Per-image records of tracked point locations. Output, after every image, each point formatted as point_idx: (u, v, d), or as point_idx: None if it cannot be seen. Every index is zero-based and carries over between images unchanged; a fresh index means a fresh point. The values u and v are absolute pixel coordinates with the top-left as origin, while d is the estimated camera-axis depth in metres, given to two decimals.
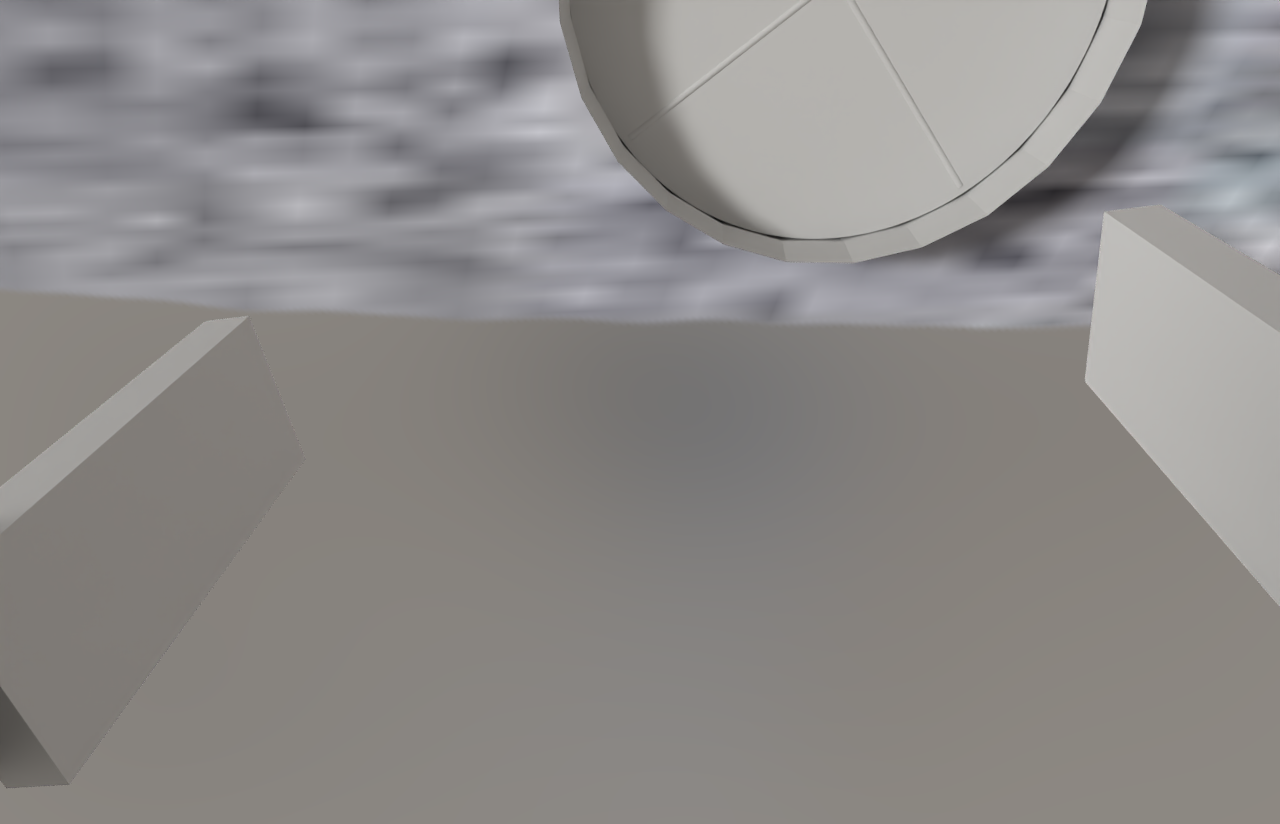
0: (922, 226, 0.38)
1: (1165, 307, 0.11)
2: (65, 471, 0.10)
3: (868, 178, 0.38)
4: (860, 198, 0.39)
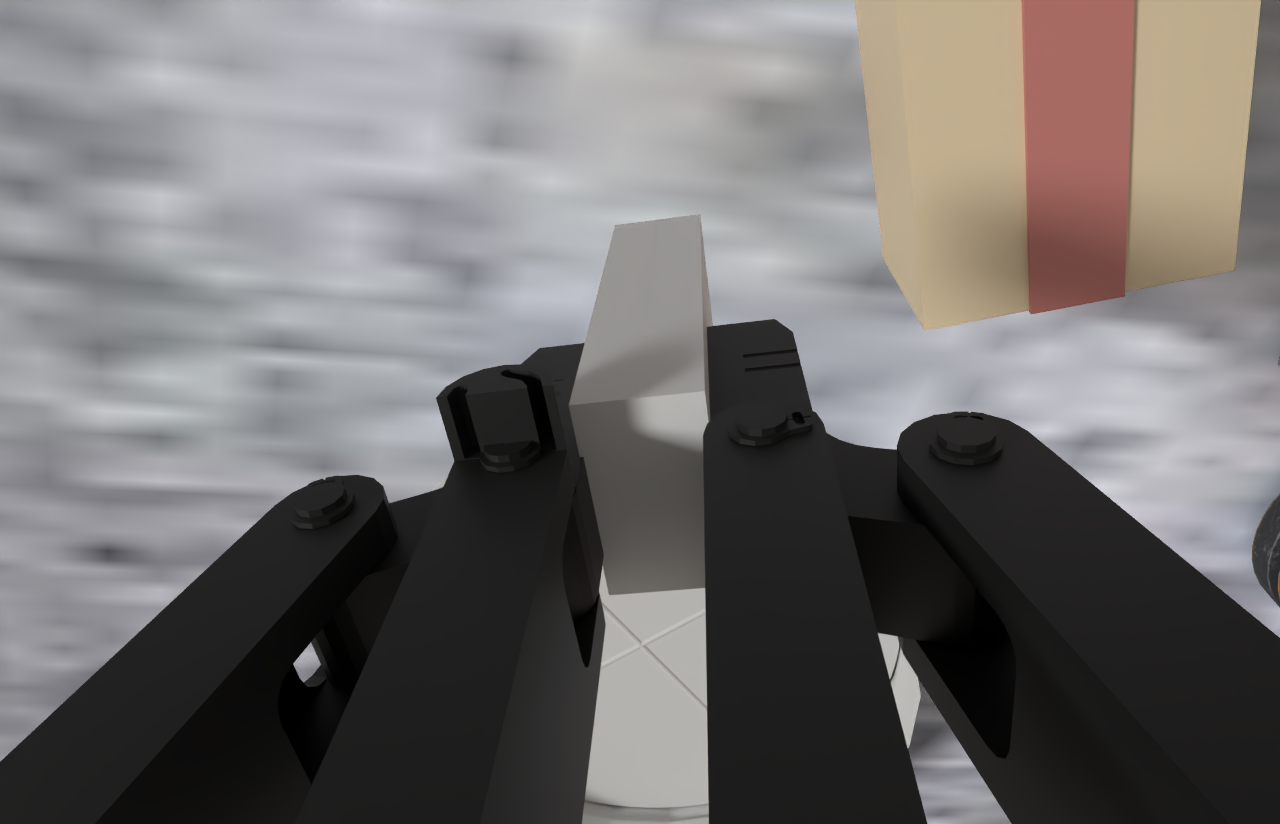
0: None
1: None
2: (637, 323, 0.11)
3: (689, 771, 0.41)
4: (683, 783, 0.41)
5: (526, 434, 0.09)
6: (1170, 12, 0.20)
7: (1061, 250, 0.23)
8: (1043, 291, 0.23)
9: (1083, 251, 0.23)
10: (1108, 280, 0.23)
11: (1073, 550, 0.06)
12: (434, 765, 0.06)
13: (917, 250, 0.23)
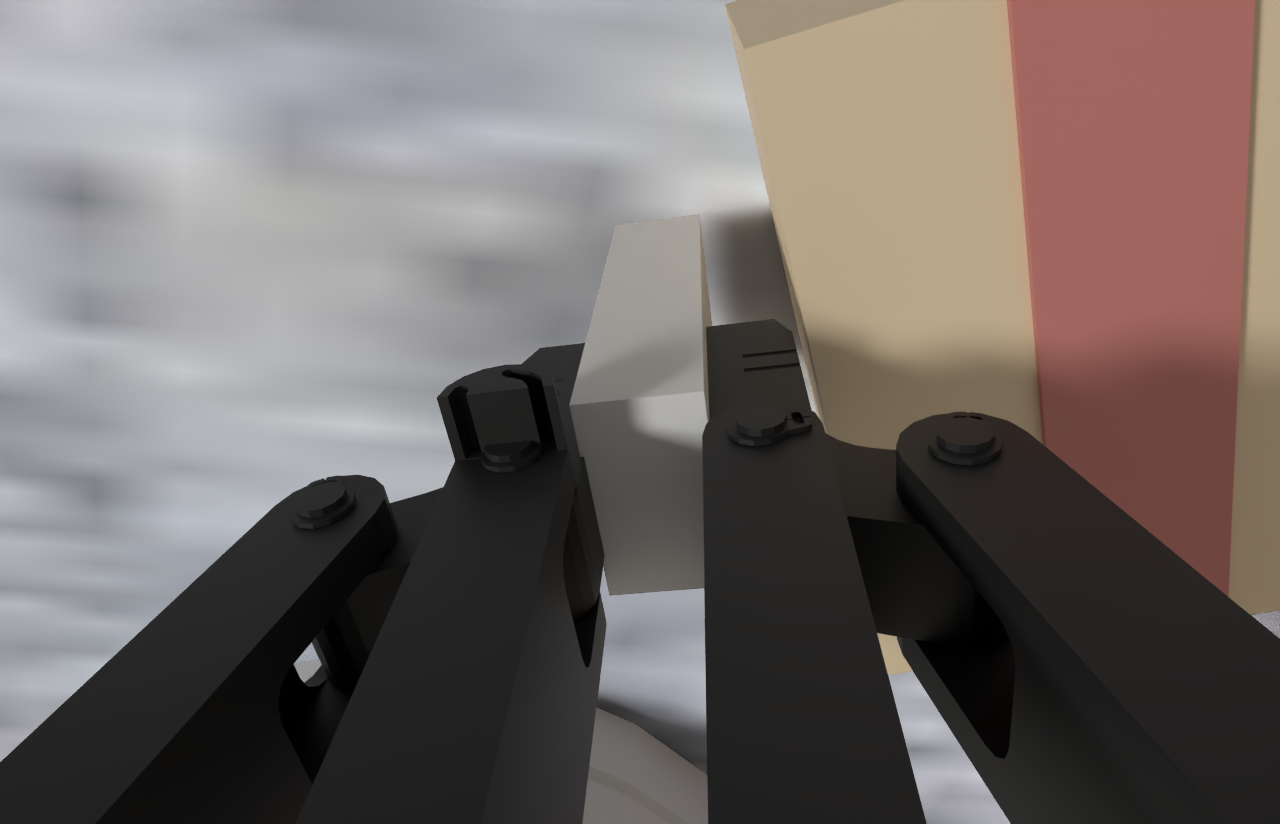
0: None
1: None
2: (638, 323, 0.11)
3: None
4: None
5: (527, 434, 0.09)
6: None
7: None
8: None
9: None
10: None
11: (1072, 550, 0.06)
12: (434, 765, 0.06)
13: None
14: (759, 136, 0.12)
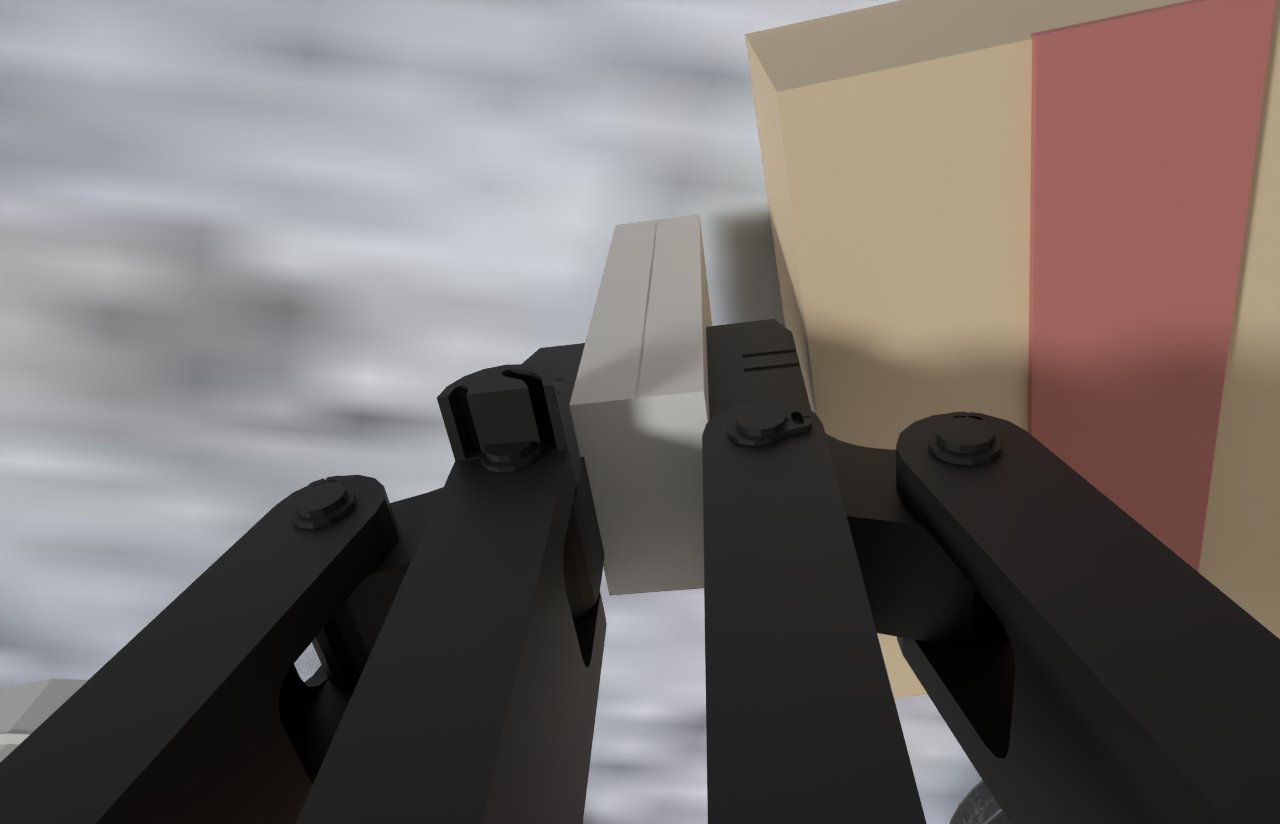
0: None
1: None
2: (638, 323, 0.11)
3: None
4: None
5: (527, 434, 0.09)
6: None
7: None
8: None
9: None
10: None
11: (1072, 550, 0.06)
12: (434, 765, 0.06)
13: None
14: (776, 171, 0.12)
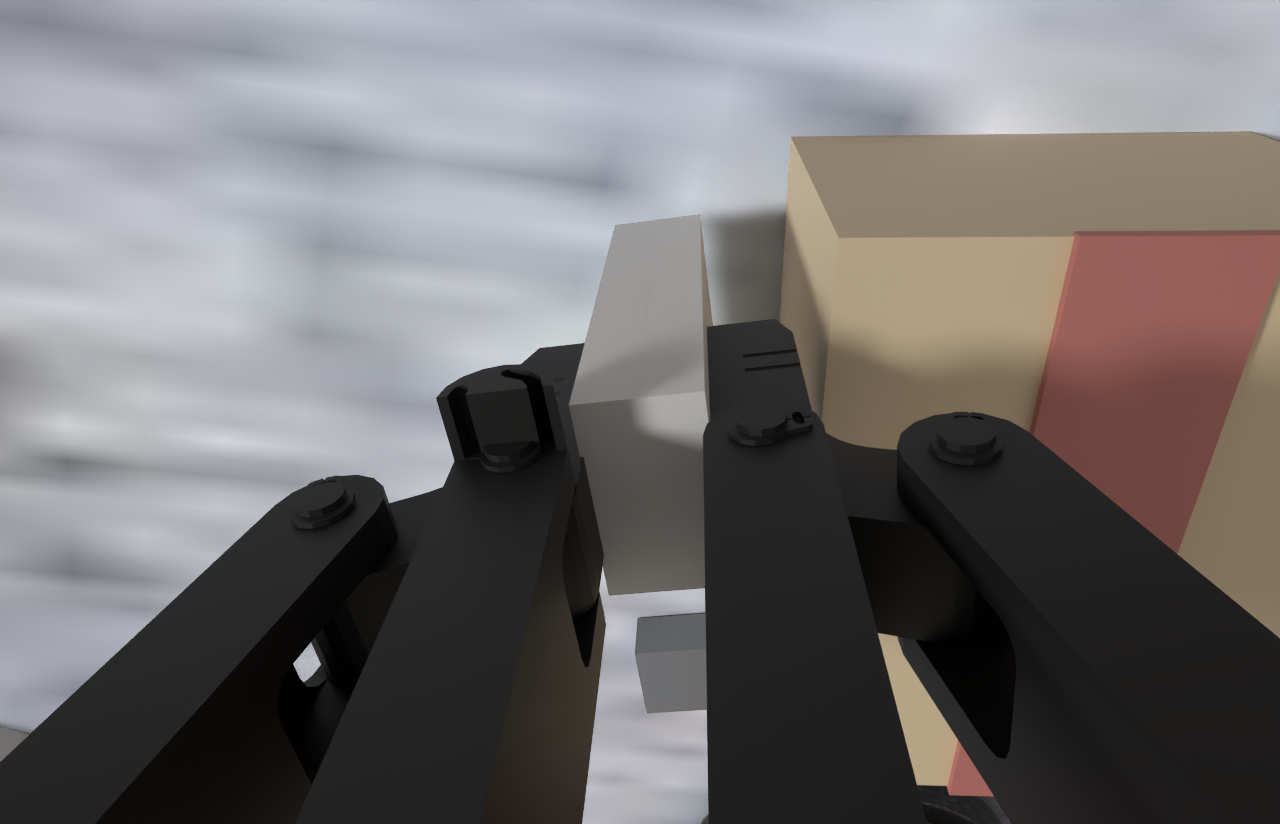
0: None
1: None
2: (637, 323, 0.11)
3: None
4: None
5: (526, 434, 0.09)
6: (1268, 459, 0.12)
7: None
8: (974, 773, 0.15)
9: None
10: None
11: (1073, 550, 0.06)
12: (434, 764, 0.06)
13: None
14: (811, 289, 0.13)
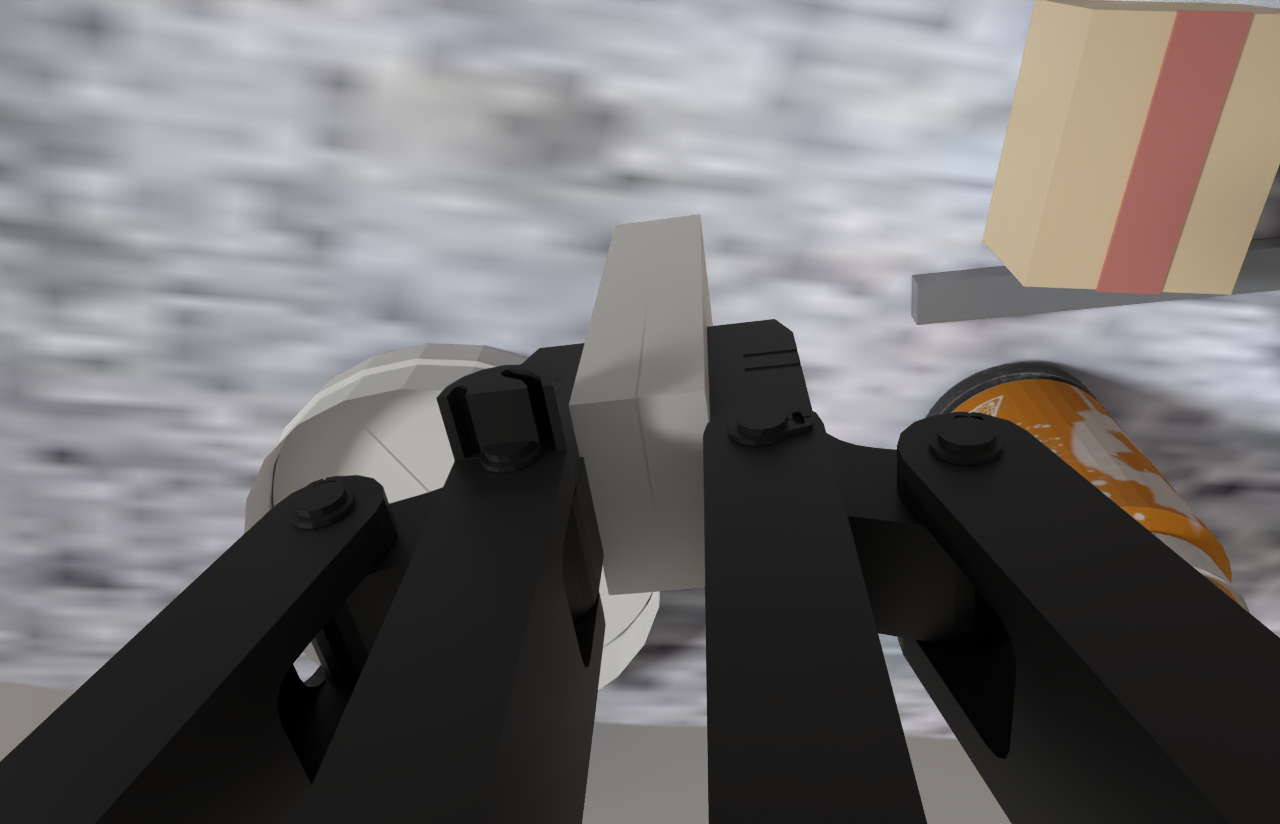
0: None
1: None
2: (637, 323, 0.11)
3: None
4: None
5: (526, 434, 0.09)
6: (1242, 111, 0.31)
7: (1129, 252, 0.33)
8: (1110, 277, 0.34)
9: (1143, 255, 0.33)
10: (1152, 280, 0.34)
11: (1073, 550, 0.06)
12: (434, 765, 0.06)
13: (1038, 227, 0.33)
14: (1062, 47, 0.32)
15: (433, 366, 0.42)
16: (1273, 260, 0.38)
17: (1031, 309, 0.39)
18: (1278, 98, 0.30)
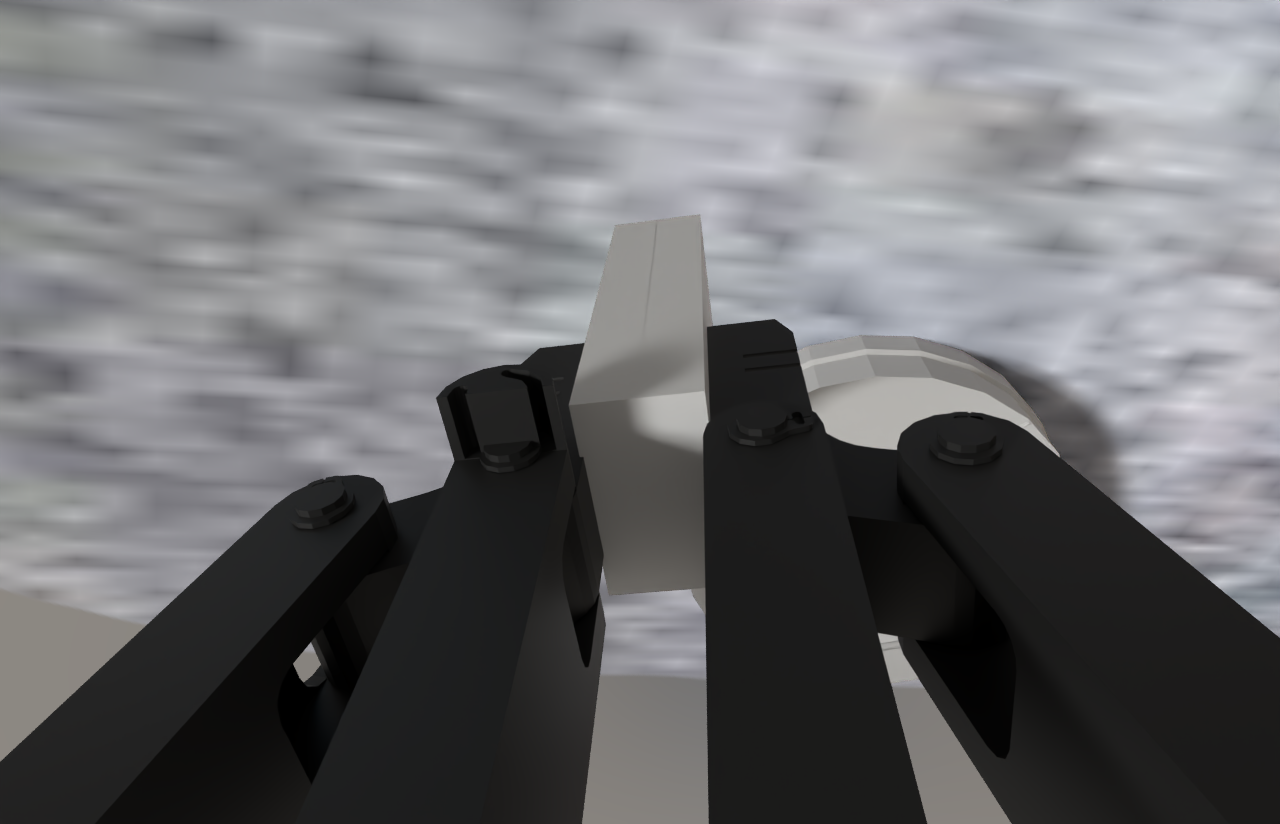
0: None
1: None
2: (637, 323, 0.11)
3: None
4: None
5: (526, 434, 0.09)
6: None
7: None
8: None
9: None
10: None
11: (1073, 550, 0.06)
12: (434, 764, 0.06)
13: None
14: None
15: (882, 356, 0.46)
16: None
17: None
18: None
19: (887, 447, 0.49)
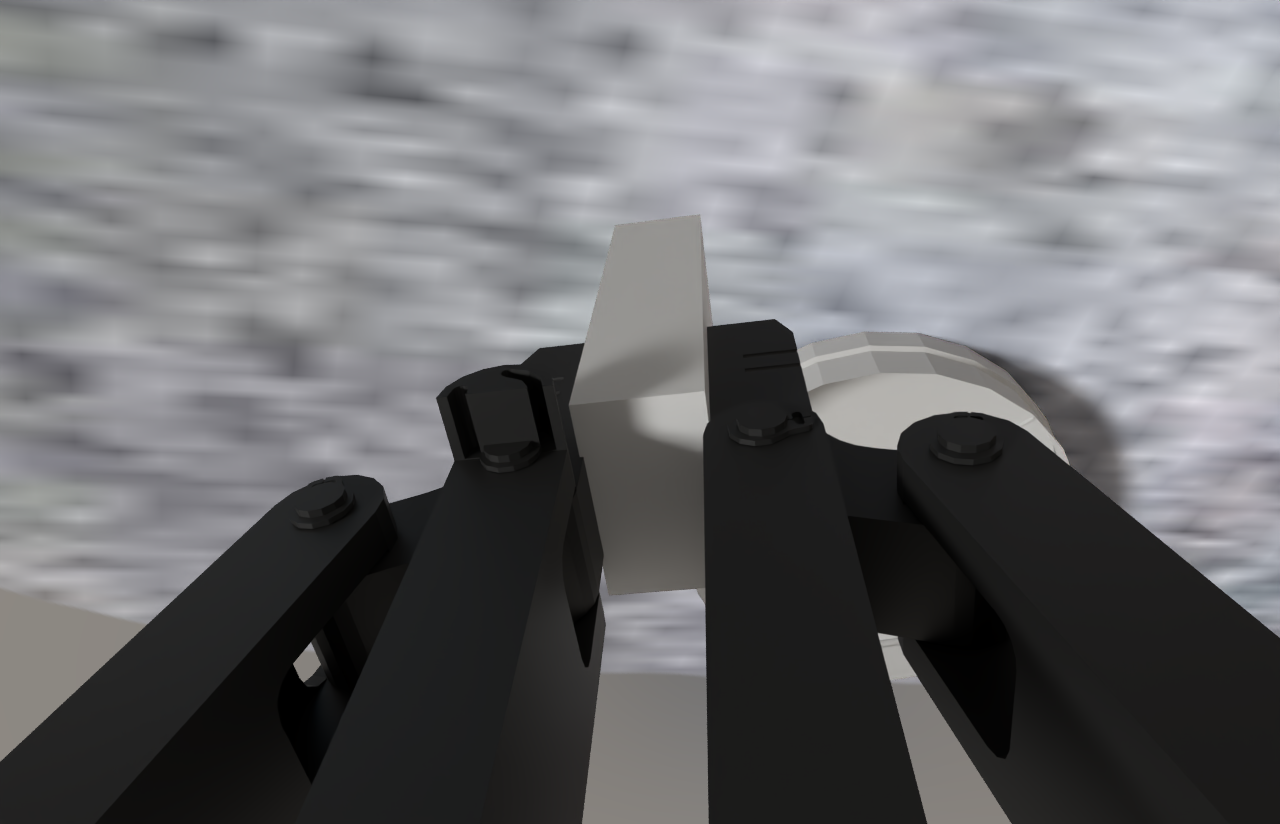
0: None
1: None
2: (637, 323, 0.11)
3: None
4: None
5: (526, 434, 0.09)
6: None
7: None
8: None
9: None
10: None
11: (1073, 550, 0.06)
12: (434, 764, 0.06)
13: None
14: None
15: (886, 352, 0.46)
16: None
17: None
18: None
19: (891, 443, 0.49)
